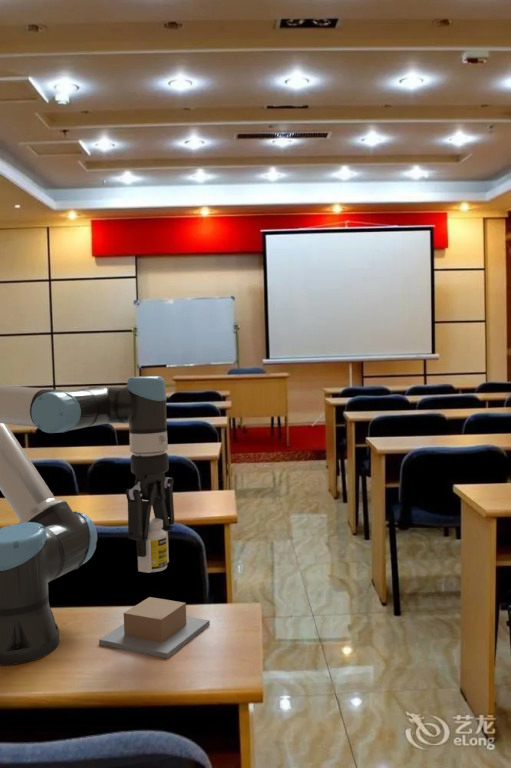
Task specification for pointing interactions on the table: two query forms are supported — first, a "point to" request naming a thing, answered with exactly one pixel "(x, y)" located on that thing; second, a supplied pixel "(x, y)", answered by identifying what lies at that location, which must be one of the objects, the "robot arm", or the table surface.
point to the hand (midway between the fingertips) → (153, 566)
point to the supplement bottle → (157, 545)
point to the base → (153, 645)
